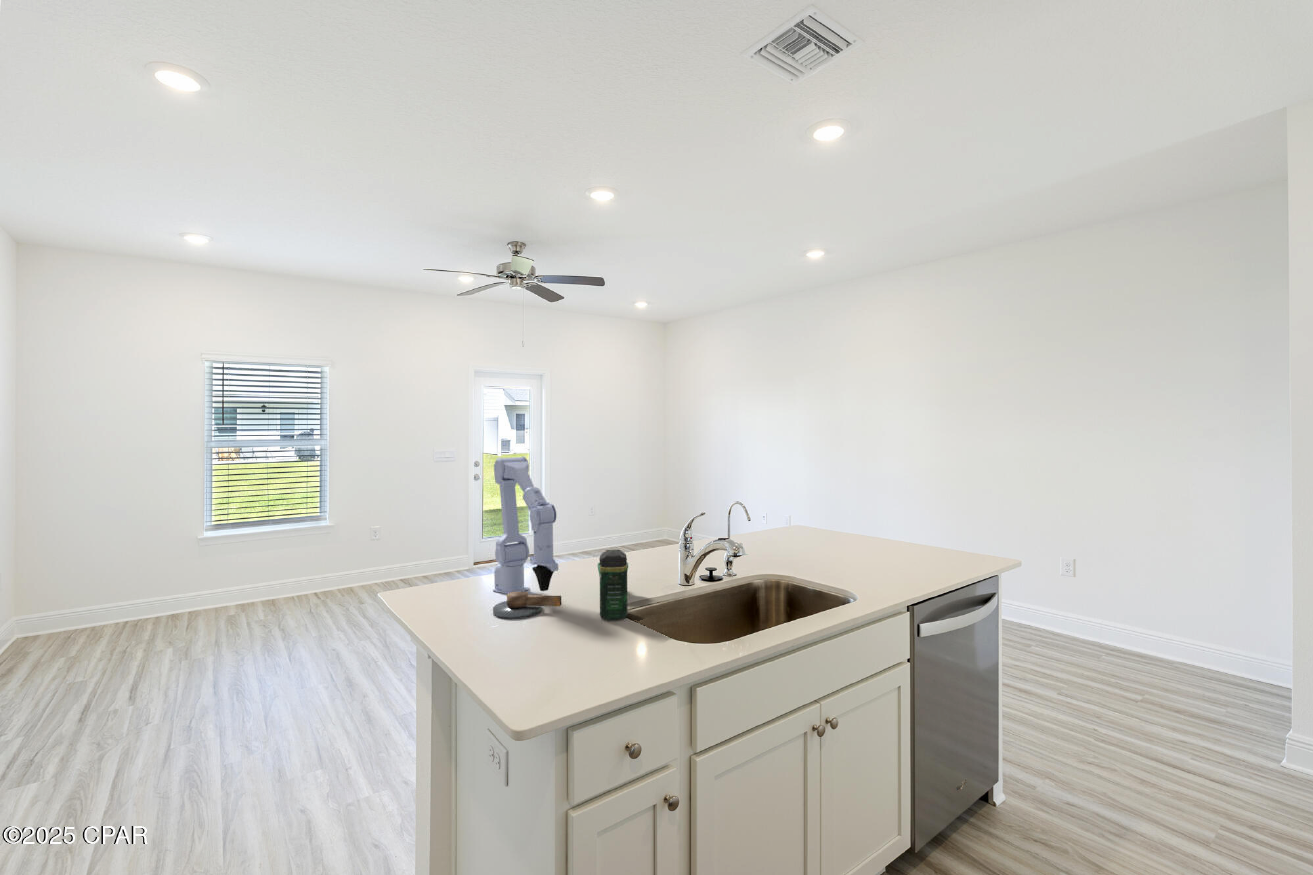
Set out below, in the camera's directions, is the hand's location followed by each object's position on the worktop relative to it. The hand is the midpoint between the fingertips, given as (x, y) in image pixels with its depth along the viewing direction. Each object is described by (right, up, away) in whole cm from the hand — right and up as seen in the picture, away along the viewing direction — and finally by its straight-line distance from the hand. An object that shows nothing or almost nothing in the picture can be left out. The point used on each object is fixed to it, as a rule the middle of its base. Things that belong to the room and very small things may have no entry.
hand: (544, 590), depth 178 cm
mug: (+19, -5, +14) cm, 24 cm away
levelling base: (-7, -5, -4) cm, 10 cm away
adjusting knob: (-2, -3, -4) cm, 6 cm away
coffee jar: (+22, -5, -9) cm, 24 cm away
